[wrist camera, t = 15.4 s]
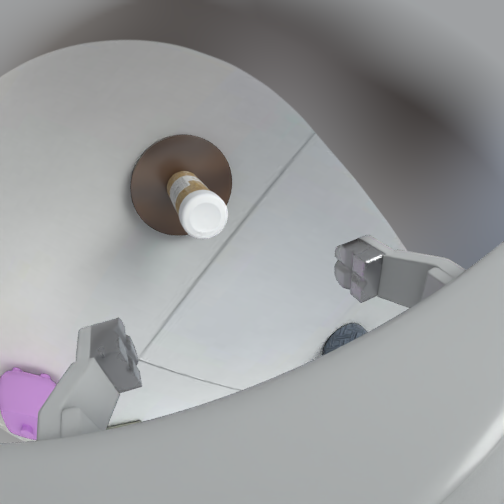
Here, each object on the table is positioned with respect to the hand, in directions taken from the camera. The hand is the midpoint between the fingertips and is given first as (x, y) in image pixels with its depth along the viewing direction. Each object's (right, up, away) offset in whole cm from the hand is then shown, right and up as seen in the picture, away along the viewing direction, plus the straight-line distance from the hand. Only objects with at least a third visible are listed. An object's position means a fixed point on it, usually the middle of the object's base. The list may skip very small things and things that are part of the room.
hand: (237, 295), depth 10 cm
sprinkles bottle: (-9, +10, +28) cm, 32 cm away
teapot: (-44, -25, +32) cm, 60 cm away
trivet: (-9, +11, +30) cm, 33 cm away
